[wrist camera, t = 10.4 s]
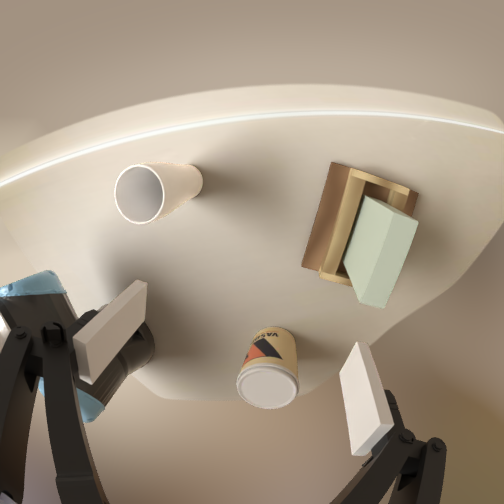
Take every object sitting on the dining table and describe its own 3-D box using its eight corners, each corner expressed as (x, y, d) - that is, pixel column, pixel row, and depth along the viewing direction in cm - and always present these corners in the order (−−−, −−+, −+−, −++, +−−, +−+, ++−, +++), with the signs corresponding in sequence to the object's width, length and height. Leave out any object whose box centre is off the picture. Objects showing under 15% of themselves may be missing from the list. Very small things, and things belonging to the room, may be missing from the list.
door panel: (341, 258, 41) (359, 303, 28) (362, 194, 38) (393, 212, 25) (359, 263, 41) (383, 309, 28) (380, 200, 38) (418, 221, 24)
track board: (301, 263, 44) (301, 273, 40) (331, 162, 38) (334, 162, 35) (381, 286, 43) (387, 296, 39) (415, 192, 37) (425, 195, 34)
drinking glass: (170, 204, 44) (117, 227, 30) (166, 162, 42) (110, 167, 28) (210, 201, 43) (169, 224, 29) (207, 157, 41) (162, 159, 27)
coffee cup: (280, 313, 47) (275, 358, 36) (310, 349, 49) (310, 397, 37) (237, 336, 50) (222, 382, 39) (268, 370, 51) (260, 416, 40)
